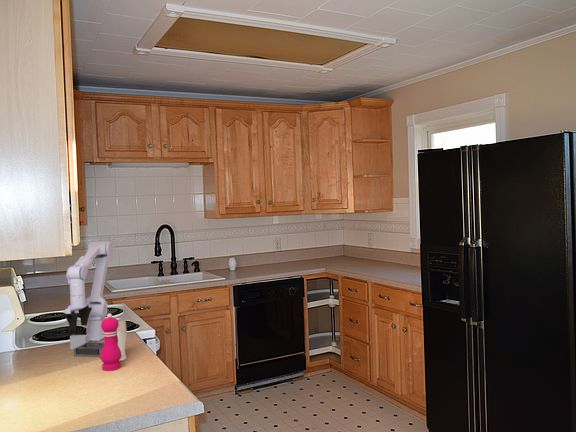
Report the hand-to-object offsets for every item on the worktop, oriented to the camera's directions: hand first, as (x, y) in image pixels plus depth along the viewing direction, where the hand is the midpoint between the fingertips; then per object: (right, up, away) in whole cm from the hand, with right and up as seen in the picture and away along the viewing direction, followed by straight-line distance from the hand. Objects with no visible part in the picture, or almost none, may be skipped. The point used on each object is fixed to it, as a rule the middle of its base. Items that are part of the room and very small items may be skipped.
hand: (78, 327), depth 208 cm
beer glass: (+22, -9, -16) cm, 28 cm away
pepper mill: (+23, -9, -26) cm, 36 cm away
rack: (+9, -9, -7) cm, 14 cm away
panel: (0, -9, 0) cm, 9 cm away
